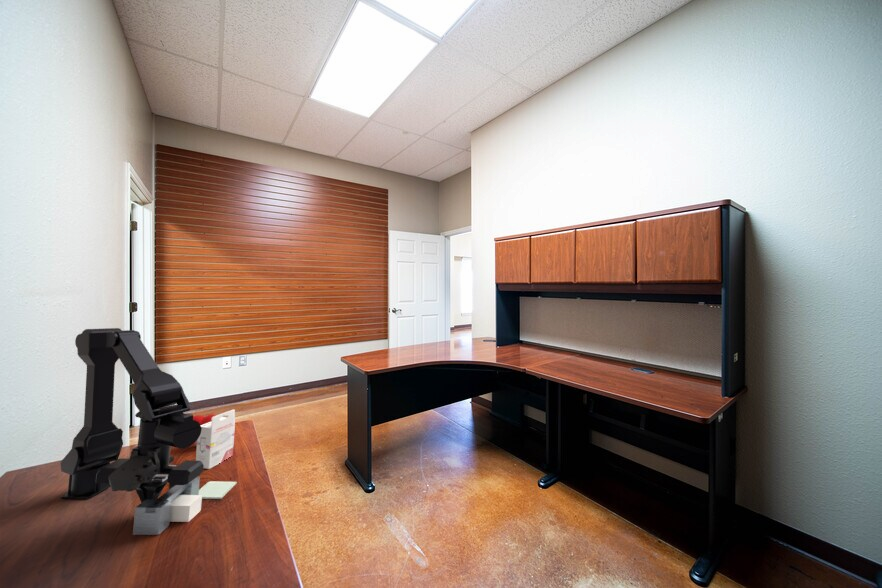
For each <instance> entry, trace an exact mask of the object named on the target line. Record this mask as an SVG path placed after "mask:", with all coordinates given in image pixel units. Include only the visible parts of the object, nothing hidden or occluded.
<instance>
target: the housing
mask: <svg viewBox="0 0 882 588" xmlns="http://www.w3.org/2000/svg"><path fill="white" fill-rule="evenodd" d="M200 479H201V476H197V477H196V478H195V479H193V480H192V481H191V482H190V483H188V484H186V485H170V484H169V483H168V491H166V492H165V493H163V494H161V495H159V497H158V499H146V500H145V501H144V502H142V503H141V502H140V503H139V504H138V505H136V506H135V508H134V517H133V518H134V519H133V529H132V535H133V536H135V535H137V536H140V535H141V536H145V535H146V536H147V535H148V536H151V535H152V536H158V535H160V534H161V533H163V531H165V530H166V529H167V528H168V527H169V526H170V522H169V521H170V510H171V500H173V499H174V498H175V497H176V496H178V495H198V494H199V490H200V482H201V480H200Z"/></svg>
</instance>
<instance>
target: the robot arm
mask: <svg viewBox="0 0 882 588" xmlns="http://www.w3.org/2000/svg"><path fill="white" fill-rule="evenodd" d="M141 339H142V338H141V334H140V332H139V331H138V330H134V329H130V330H129V329H128V330H124V329H123V330H122V329H121V328H119V327H110V328H86V329H83V330H82V332H81V333H79V334H77V335H76V337H75V340H74V342H75V346H76V349H77V356H78V357H79V358H80V359H81V360H82V362H83V363H85V365H86V374H85V375H86V377H85V393H84V394H85V396H84V397H85V398H84V414H83V415H84V418H83V426H82V427H81V429H80V430H79V431H78V433H77V434H76V435H75V436H74V438H73V440H72V443H71V445H72V446H71V449H70V450H69V451H68V452H67V454H66V455H65V456H64V458H62V460H61V461H60V471H61V472H62V473H65V474H68V475H69V478H68V486H67V487H68V488H67V492H65V493H63V494H61V495H60V499H79V500H80V499H84V500H85V499H86V500H87V499H91V498H92V497H94V496H96V495H98V494H99V493H101V492H103V491H104V490H106V489H108V488H111V491H113V492H117V491H121V492H123V491H125V492H133V491H135V492H136V494H137V497H138V498H139V500H140V504H141V503H142V502H144V501H145V500H146V499H158V498H159V497H160V496H161V493H162V492H163V490H164V489H165V487H166V485H167V484H168V485H169V484H170V485H186V484H188V483H190V482H191V481H192V480H193V479H195V478H196V477H200V475H201V474H202V473H204V468H203V467H204V465H203V463H202V462H201V461H196V460H189V459H187V460H183V461H182V462H180V463H179V464H177V465H176V464H171V463H173V462H174V461H175V460H174V459H175V457H174V456H171V449H172V448H176V449H180V450H182V449H187V448H190V447H191V446H192V445H194V444H195V443H197V440H198V438H199V436H200V434H201V430H202V428H201V426H200V424H199V422H197V421H195V420H193V416H194V414H192V413H187V412H190V410H191V407H190V405H189V404H190V401H189V400H188V397H187V396H186V394H185V392H184V388H183V386H182V385H181V384H180V382H179V381H178V379H176V378H175V377H174V375H172V374H169V373H167V372H165V371H163V370H161V368H160V367H159V365H158V364H157V362H155V359H154V358H153V356H152V355H151V353H150V352H149V350H148V349H147V347H146V346H145V344H144V343H143V341H142V340H141ZM118 360H119V361H120V362H121V363H122V365H123V367H124V368H125V370H126V371H127V373H128V375H129V377H130V378H131V380H132V382H133V385H134V387H133V391H132V394H131V395H132V397H133V401H134V404H135V406H136V408H137V410H138V411H137V413H136V414H135V418H139V420H140V421H139V429H138V439H137V440H138V441H137V446H135V447H133V448H131V449H132V450H131V452H130V455H129V457H128V458H119V457H120V454H121V452H122V449H123V446H124V440H123V432H124V431H123V430H122V428H118V426H117V425H116V424H115V423H114V422H113V417H114V415H113V414H114V398H115V397H114V391H115V372H116V371H115V370H116V369H115V368H116V363H117V362H118Z"/></svg>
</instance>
